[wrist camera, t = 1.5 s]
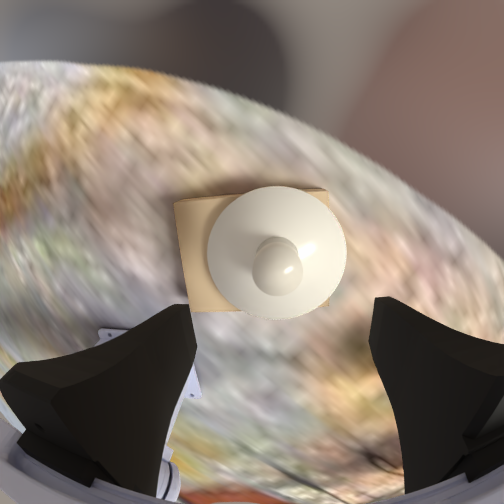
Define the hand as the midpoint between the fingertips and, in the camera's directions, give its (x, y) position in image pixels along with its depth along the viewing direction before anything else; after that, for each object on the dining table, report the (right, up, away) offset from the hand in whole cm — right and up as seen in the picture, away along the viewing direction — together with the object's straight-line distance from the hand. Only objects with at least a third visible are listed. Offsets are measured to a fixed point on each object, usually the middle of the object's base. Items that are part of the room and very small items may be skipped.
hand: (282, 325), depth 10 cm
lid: (0, +3, +8) cm, 9 cm away
